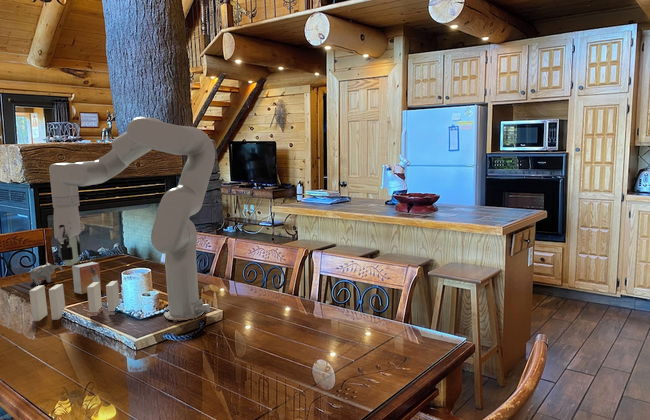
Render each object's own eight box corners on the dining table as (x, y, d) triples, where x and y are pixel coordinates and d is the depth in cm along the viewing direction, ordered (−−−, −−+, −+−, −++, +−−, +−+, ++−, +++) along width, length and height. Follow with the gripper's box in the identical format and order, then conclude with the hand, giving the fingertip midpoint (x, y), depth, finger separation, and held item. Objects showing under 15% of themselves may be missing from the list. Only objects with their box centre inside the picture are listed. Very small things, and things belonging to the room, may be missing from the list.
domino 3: (78, 261, 162) (75, 231, 160) (71, 265, 156) (68, 234, 154) (72, 261, 161) (69, 231, 160) (65, 265, 156) (61, 234, 154)
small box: (81, 294, 184) (78, 267, 183) (74, 292, 187) (71, 265, 186) (102, 289, 190) (99, 263, 189) (94, 287, 194) (92, 261, 192)
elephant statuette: (26, 285, 202) (23, 267, 200) (53, 276, 212) (50, 259, 211) (40, 287, 198) (37, 269, 196) (67, 278, 208) (64, 260, 207)
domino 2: (66, 313, 163) (62, 284, 162) (58, 319, 157) (55, 289, 156) (59, 313, 163) (56, 284, 162) (51, 319, 157) (48, 289, 156)
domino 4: (102, 310, 165) (99, 281, 163) (96, 316, 159) (93, 286, 157) (96, 311, 164) (93, 282, 163) (89, 317, 159) (86, 287, 157)
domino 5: (120, 309, 165) (117, 280, 164) (114, 315, 159) (112, 285, 158) (114, 309, 165) (111, 281, 164) (108, 316, 159) (105, 286, 158)
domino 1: (47, 314, 163) (44, 285, 161) (39, 320, 157) (35, 290, 156) (41, 314, 162) (37, 285, 161) (32, 321, 157) (29, 290, 155)
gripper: (64, 199, 164) (69, 252, 166) (41, 205, 147) (47, 264, 149) (88, 198, 165) (93, 251, 167) (67, 204, 148) (73, 263, 150)
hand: (71, 256), depth 158 cm, fingers closed on domino 3, 5 cm apart
